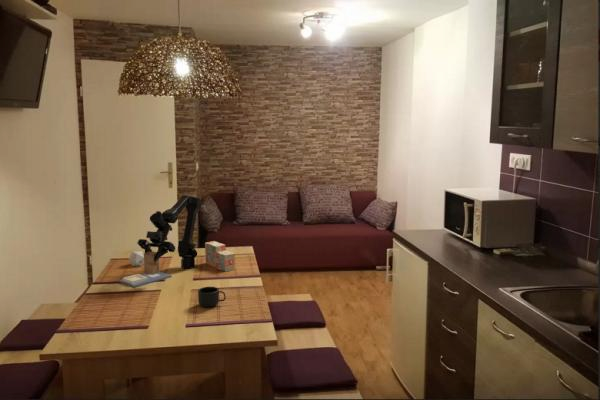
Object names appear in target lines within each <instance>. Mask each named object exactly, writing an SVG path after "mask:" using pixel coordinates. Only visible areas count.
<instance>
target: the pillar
mask: <svg viewBox="0 0 600 400" xmlns="http://www.w3.org/2000/svg"><path fill="white" fill-rule="evenodd" d="M156 253H157V251H153V250H152V251H149V252H147V253H145V252H144V253H143V255H144V262H143V267H144V270H143V271H144V273H145V274H151V275H154V274H156V273H158V272H160V258H159V259H158V260H156V261H154V258H155V256H156Z"/></svg>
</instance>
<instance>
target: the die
mask: <svg viewBox="0 0 600 400" xmlns="http://www.w3.org/2000/svg"><path fill="white" fill-rule="evenodd" d="M128 260H129V262H130V264H131V266H132V267H142V266H143V265H144V253H143V251H141V250H140V251H139V250H137V251H132V252H131V253H130V255H129V258H128Z"/></svg>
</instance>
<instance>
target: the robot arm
mask: <svg viewBox="0 0 600 400" xmlns="http://www.w3.org/2000/svg"><path fill="white" fill-rule="evenodd" d="M202 206H203V201H202V199H201V198H200V197H193V196H191V195H187V194H186V195H185V194H182V195H181V196H180V198H179V200H178V201H176V203H175V204H174V205H173V206H171V208H169V209H166V210H164V211H163V212H162V211H160V210H156V211H155V213H152V214H151V215H150V217H149V221H150V222H151V224H152V225H153V226H154V228H156V231H147V232H146V239H145V238H139V239H138V241H137V245H138V246H139V247H140V248H141V249H142V250H144V253H147V252H149V251H152V252H153V249H152V248H157V251H156V252H157V253H156V256H155V258H154V261H156V260H158V259H159V260H160V258H161V257H163V256H164V255H166V254H169V253H175V251H176V246H175V245H174V243H173V242H172V241H168V235H169V232H170V231H171V232H172V231H173V228H172V225H171V224H176V222H177V221H178V220H179V215H180V213H181V212H182V211H183V210H184V209H186V213H187V215H186V220H185V226H184V232H183V237H182V239H181V240H178V245H177V252H178V253H177V254H178V257H179V258H181V259H180V267H181V268H182V269H184V270H188V269H189V270H190V269H194V268H195V269H196V268H197V267H196V263H195V261H196V260H195V259H196V258H197V256H198V252H197V250H196V248H195V242H194V240H193V238H194V232H195V226H196V225H195V224H196V220H197V214H198V213H199V212H200V210H201V208H202ZM147 239H149V240H147ZM149 241H150V242H149Z"/></svg>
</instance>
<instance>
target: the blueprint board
mask: <svg viewBox="0 0 600 400" xmlns="http://www.w3.org/2000/svg"><path fill="white" fill-rule="evenodd" d="M170 278H173V276H172V275H171V274H169V273H165V272H161V271H159V272H158V273H156V274H154V275H151V274H145V272H144V273H141V274H138V273H136V274H132V275H129V276H128V275H127V276H125V277H122V279H119V280H118V283H121V284H123V285H126V286H129V287H132V288H138V287H141V286H144V285H148V284H153V283H155V282H159V281H162V280H166V279H170Z"/></svg>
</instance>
